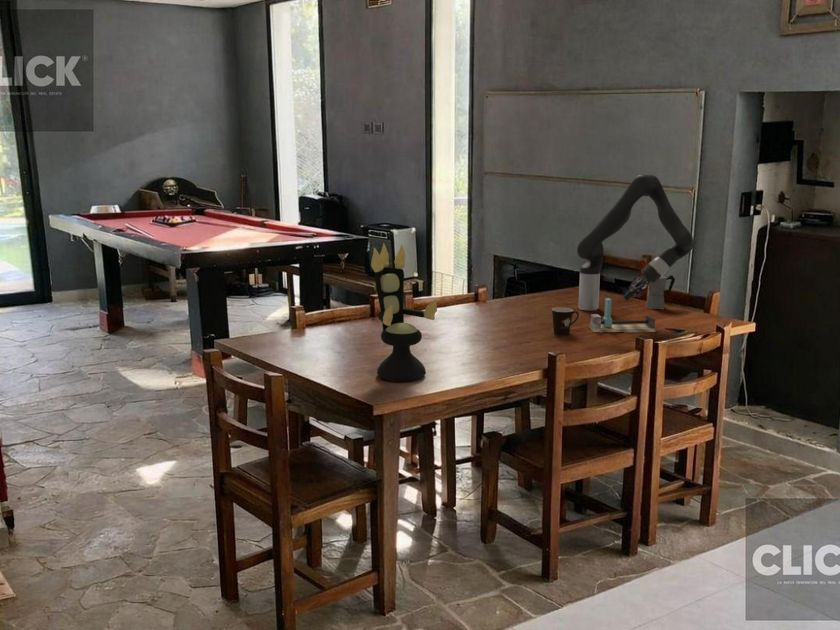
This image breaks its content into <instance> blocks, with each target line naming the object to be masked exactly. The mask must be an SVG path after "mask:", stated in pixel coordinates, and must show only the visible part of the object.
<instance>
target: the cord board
mask: <svg viewBox="0 0 840 630" xmlns="http://www.w3.org/2000/svg"><path fill="white" fill-rule="evenodd" d="M602 324H604V321H602V316H600V315H599V314H597V313H594V314H592V313H591V314H590V324H589V327H588V329H589V328H590V329H591V330H590V329H589V330H590V331H592V332H593V333H594V332H601V333H600V334H602V332H624V333H656V318H655V317H653V316H651V315H645V320H612V327H604V325H602Z"/></svg>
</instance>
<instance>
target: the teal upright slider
mask: <svg viewBox="0 0 840 630" xmlns="http://www.w3.org/2000/svg"><path fill="white" fill-rule="evenodd" d="M604 300H605V301H604V315H603V316H602V318H601V321H604V324H601V325H604V327H612V325H613V324H612V321H613V318H612V317H611V315H612V302H613V301H612V299H611V298H609V297H607V298H605V299H604Z"/></svg>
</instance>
